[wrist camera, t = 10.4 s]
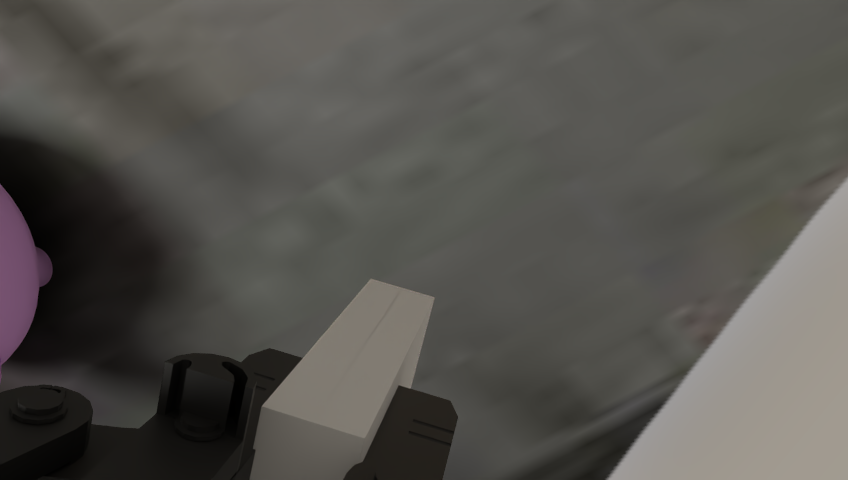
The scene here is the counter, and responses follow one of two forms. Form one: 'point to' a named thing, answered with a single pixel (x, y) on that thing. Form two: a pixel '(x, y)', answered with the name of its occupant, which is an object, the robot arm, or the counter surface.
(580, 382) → the counter surface
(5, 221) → the teapot
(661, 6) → the counter surface
